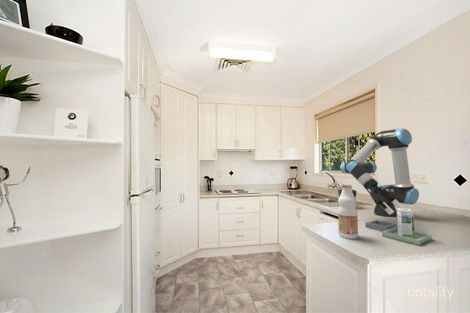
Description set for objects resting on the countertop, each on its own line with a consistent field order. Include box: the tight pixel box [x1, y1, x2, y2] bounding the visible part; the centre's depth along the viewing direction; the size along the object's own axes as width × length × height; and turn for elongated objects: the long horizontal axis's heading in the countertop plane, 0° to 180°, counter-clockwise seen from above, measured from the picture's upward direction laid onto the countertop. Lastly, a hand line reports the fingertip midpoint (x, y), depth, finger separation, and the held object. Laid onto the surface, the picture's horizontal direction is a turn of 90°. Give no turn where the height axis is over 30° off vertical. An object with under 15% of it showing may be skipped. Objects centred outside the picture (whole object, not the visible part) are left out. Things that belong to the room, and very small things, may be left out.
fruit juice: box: [337, 184, 359, 240], centre depth 119 cm, size 9×9×28 cm
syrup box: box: [396, 207, 415, 238], centre depth 115 cm, size 6×6×14 cm
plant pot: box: [337, 188, 357, 199], centre depth 193 cm, size 15×15×16 cm
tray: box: [381, 226, 433, 246], centre depth 114 cm, size 16×16×2 cm
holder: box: [365, 219, 398, 232], centre depth 132 cm, size 12×12×3 cm
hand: (397, 211), depth 117 cm, fingers open, 13 cm apart
